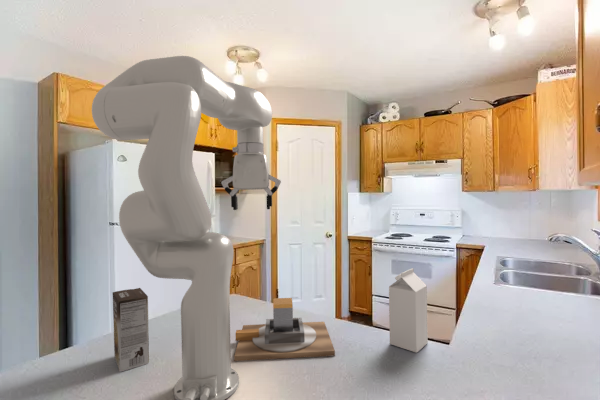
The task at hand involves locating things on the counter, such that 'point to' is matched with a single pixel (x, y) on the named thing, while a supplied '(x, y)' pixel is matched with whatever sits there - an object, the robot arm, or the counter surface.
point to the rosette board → (283, 341)
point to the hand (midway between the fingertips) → (252, 209)
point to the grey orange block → (283, 314)
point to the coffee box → (130, 328)
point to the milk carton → (408, 312)
